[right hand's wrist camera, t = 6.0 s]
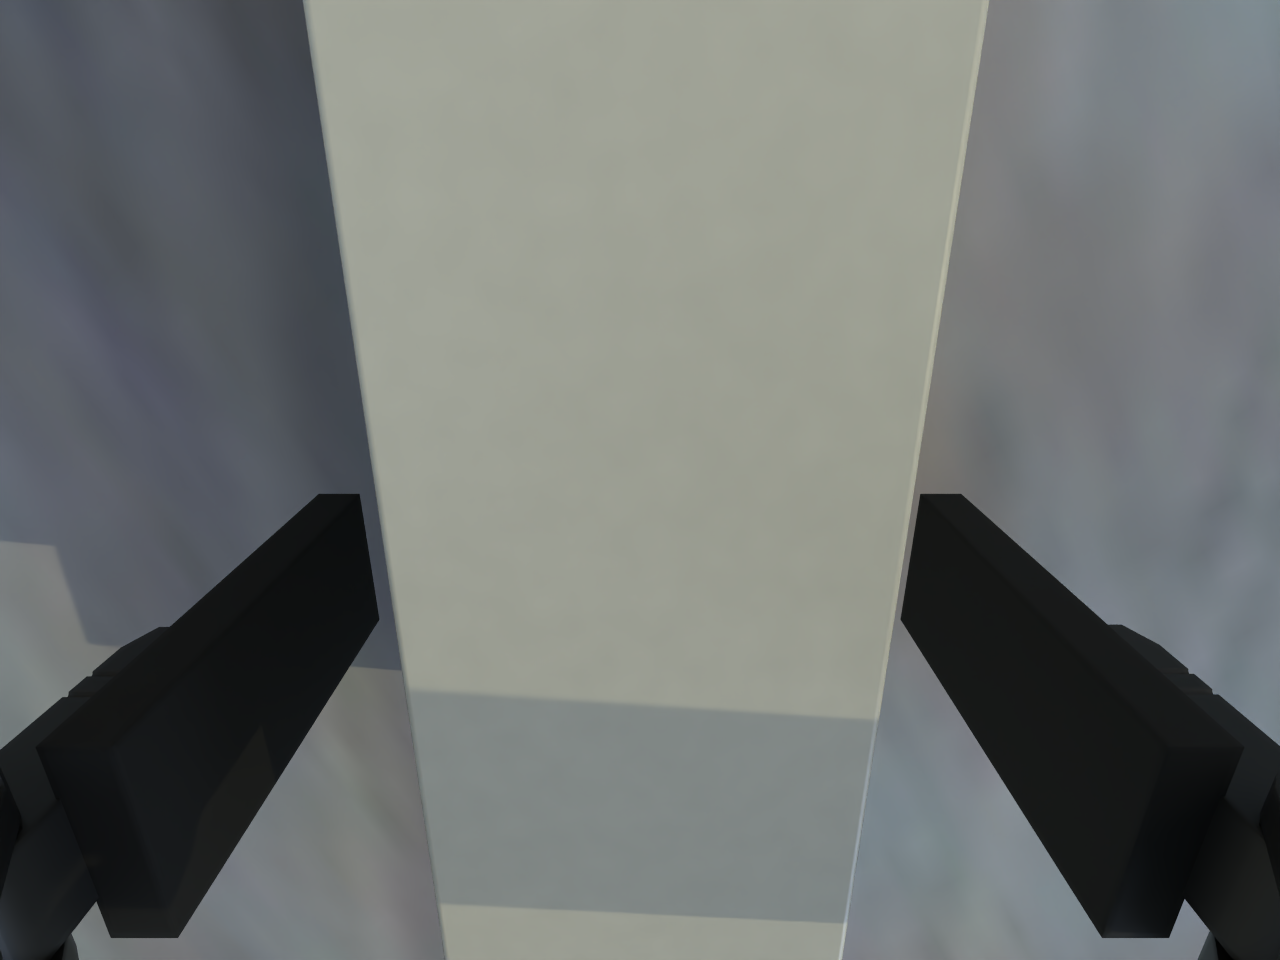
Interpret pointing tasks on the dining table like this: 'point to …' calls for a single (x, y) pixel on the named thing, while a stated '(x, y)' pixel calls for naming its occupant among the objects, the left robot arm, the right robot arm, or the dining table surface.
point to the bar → (644, 437)
